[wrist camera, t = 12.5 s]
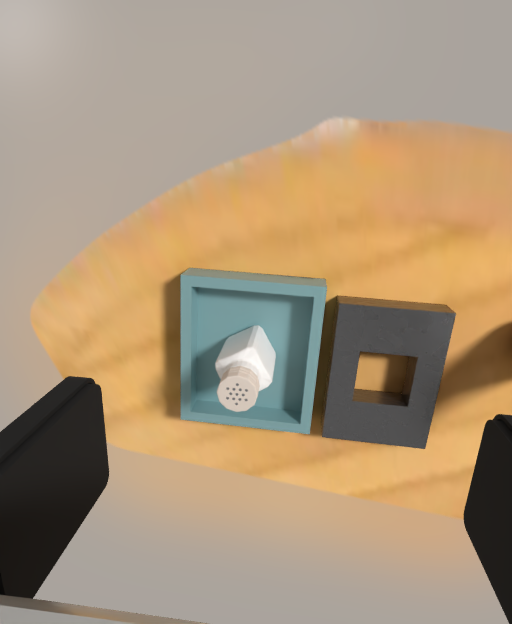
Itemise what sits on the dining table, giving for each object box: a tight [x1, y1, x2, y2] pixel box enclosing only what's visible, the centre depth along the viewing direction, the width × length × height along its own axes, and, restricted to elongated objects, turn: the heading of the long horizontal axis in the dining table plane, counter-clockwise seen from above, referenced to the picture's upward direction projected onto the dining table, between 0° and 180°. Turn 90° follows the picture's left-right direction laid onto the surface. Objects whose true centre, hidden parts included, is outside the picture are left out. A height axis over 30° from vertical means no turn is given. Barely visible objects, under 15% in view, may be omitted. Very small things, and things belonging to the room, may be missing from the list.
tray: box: [181, 268, 327, 434], centre depth 39 cm, size 13×15×3 cm
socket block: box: [321, 296, 456, 449], centre depth 39 cm, size 10×14×2 cm
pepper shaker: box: [215, 325, 276, 412], centre depth 36 cm, size 4×4×10 cm
